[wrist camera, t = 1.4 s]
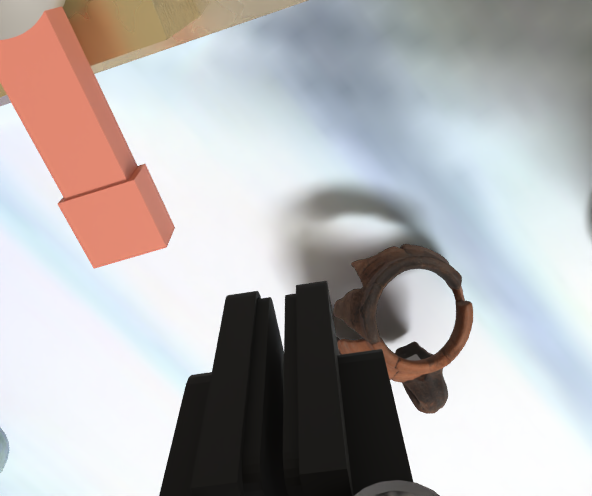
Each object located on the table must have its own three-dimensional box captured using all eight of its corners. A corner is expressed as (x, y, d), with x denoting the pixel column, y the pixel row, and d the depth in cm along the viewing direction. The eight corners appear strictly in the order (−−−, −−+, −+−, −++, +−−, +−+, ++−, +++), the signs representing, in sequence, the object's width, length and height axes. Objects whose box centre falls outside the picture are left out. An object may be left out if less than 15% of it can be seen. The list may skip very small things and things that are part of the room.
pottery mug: (284, 286, 39) (321, 298, 32) (387, 215, 42) (447, 211, 34) (367, 421, 41) (422, 464, 34) (462, 347, 44) (535, 371, 36)
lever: (-91, -84, 18) (-127, -87, 17) (27, -132, 18) (2, -140, 16) (94, 251, 24) (80, 272, 23) (187, 223, 24) (180, 243, 22)
